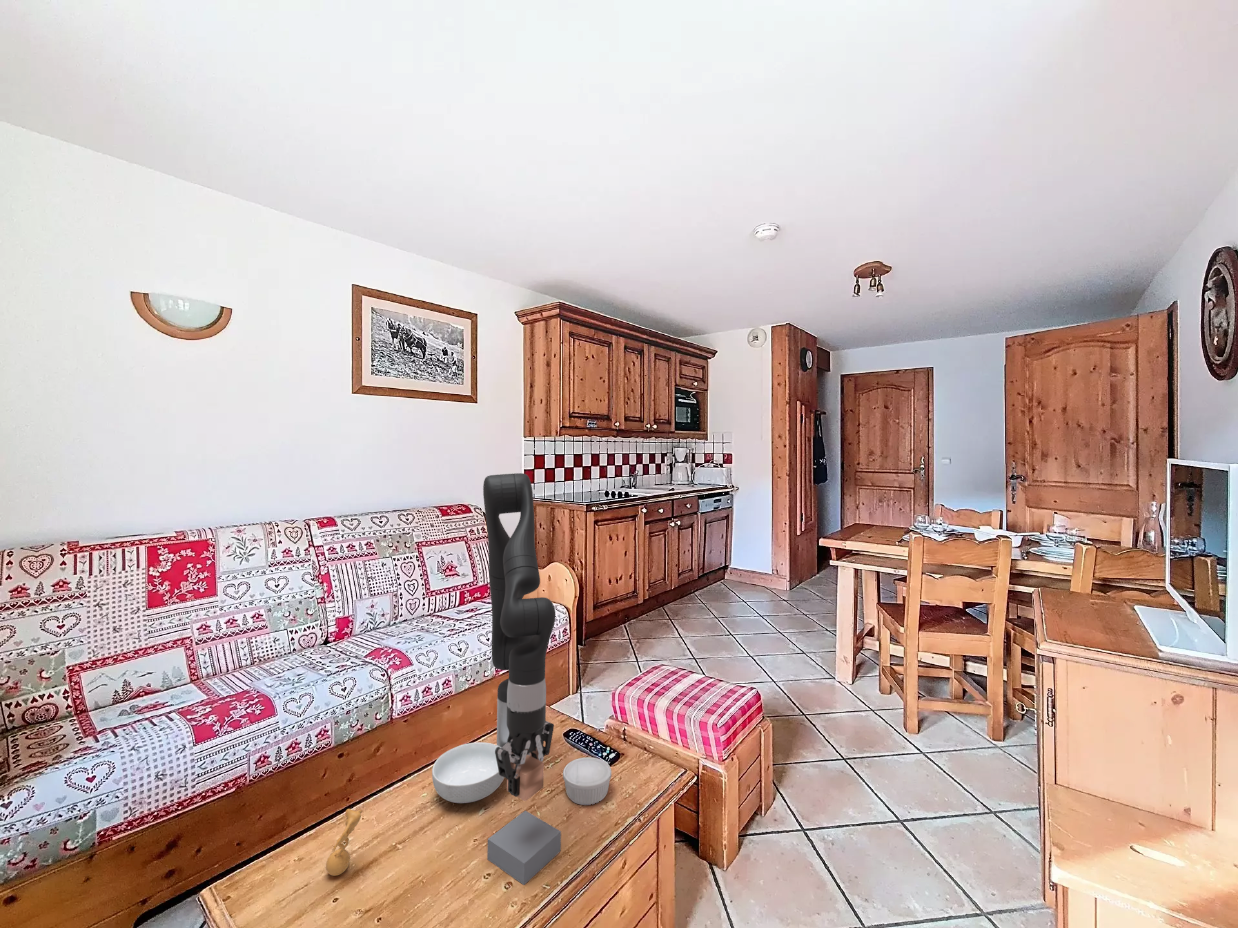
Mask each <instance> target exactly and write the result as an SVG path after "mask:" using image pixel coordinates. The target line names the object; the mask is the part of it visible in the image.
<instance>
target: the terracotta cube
mask: <svg viewBox="0 0 1238 928" xmlns="http://www.w3.org/2000/svg"><path fill="white" fill-rule="evenodd" d="M515 767H516V764H515V763H514V767H513V769H515ZM544 769H545V762H543V761H540V760H538V759H536V758H534V757H532V756H530V755H527V756H526V759H525V763H524V765H522V767H521V771H520V775H519V777H520V794H519V795H518V796H517V797H516V798H518V799H520V800H521V801H524V802H526V801H528V800H529V799H530V798H532V797H533V796H534V795H536V794H537V793H538V792H540V791H541V790H543V789H544V784H545V783H544V778H545V777H544V775H545V771H544ZM506 792H508V779H506Z"/></svg>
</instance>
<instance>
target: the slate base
mask: <svg viewBox="0 0 1238 928" xmlns="http://www.w3.org/2000/svg"><path fill="white" fill-rule="evenodd" d="M561 845H562V831H561V830H559V829H558V828H556V827H554V826H553V825H551V824H549V823H548V822H546V821H544V820H543V819H540V818H539V817H537V816H536V815H534V814H532V813H531V812H529V811H527V810H524V811H522V812H521V813H520V814H518V815H517V816H516V817H515V818H514V819H512V820H511V821H510V822H508V823H506V824H505V825H504V826H503V827H501V828H500V829H499V830H498V831H496V832H495V833H493V834H492V835H491V836H490V837H488V838H487V854H486V855H487V858H486V859H487V861H489V862H490V863H492V864H493V865H495V866H496V867H497V868H499V869H500V870H502V871H503V872H504V873H506V874H507V875H509V876H510V877H512V878H513V879H515V881H518V882H519V883H520V884H522V885H523V886H525V885H526V884H527V883H528V882H529V881H530V880H531V879H533V877H534V876H536V874H538V873H539V872H540V871H541V870H542V869H544V867H545V866H546V865H547V864H549V863H550V862H551V861H552V860H553V859H554V858H555V857H556V856H557V855H558V854H559V853H560V852H561V851H562V850H561V849H562V848H561Z"/></svg>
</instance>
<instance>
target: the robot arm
mask: <svg viewBox="0 0 1238 928" xmlns="http://www.w3.org/2000/svg"><path fill="white" fill-rule="evenodd" d="M482 487H483V488H482V490H483V491H482V493H483V494H482V495H483V503H484V504H483V505H484V512H485V513H484V515H485V521H486V522H485V523H486V530H487V531H486V532H487V541H488V578H489V589H490V599H491V600H490V602H491V661H492V664H493V666H494V669H496V670H499V671H500V670H501V671H508V678H507V679H504V680H503V681H501V682H500V683H499V685H498V687H497V699H496V700H497V703H496V710H497V712H496V745H497V746H499V747H497V748H496V750H495V755H496V760H497V765H498V770H499V775H500V776H503V777H504V779H506V780H507V779H508V791H507V792H508V793H509V794H510V795H511V796H513V797H515V798H518V797H517V796H518V795H519V794H520V777H519V775H520V771H521V767H522V765H524V763H525V759H526V756H527V755H530V756H532V757H534V758H536V759H538V760H540V761H542V762H543V761H544V757H545V756H548V755H549V754H550V751H551V747H552V746H551V745H552V741H553V734H554V727H555V724H554V723H552V722H550V721H548V720H546V717H547V716H546V712H547V710H546V709H547V708H546V707H547V684H546V683H547V682H546V657H547V651H548V646H549V643H550V639H551V636H552V632H553V630H554V626H555V621H556V608H555V606H554V604H553V602H552V601H551V599H550V598H548V597H532V598H529V597H528V598H524V597H525V596H526V595H529V594H532V593H533V592H535V591H536V590H538V588H539V587H540V583H541V576H540V571H539V570H540V569H539V566H538V565H539V564H538V558H537V553H536V540H535V539H536V538H535V537H536V536H535V510H534V509H535V507H534V494H533V488H532V481H531V478H530V477H529V475H528V474H526V473H519V472H518V473H517V472H516V473H503V474H492V475H487V476H486V477H485V478H484V480H483V486H482ZM513 513H514V514H515V513H520V514H519V515H520V516H519V521H518V523H517V525H516V528H515V529H514V530H513V532H512V534H511V536H510V535H509V534H508V532H507V531H506V530H505V527H504V526H503V523H502V522H501V518H500V515H502V514H503V515H504V514H513ZM544 743H545V744H544ZM544 745H545V746H544ZM500 747H501V748H500ZM514 763H515V764H516V767H515V769H513V767H514Z"/></svg>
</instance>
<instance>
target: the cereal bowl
mask: <svg viewBox="0 0 1238 928" xmlns="http://www.w3.org/2000/svg"><path fill="white" fill-rule="evenodd" d="M497 747H499V746H497V744H495V743H490V742H484V741H483V742H481V741H480V742H479V741H478V742H477V741H476V742H469V743H465V744H461V745H458V746H455V747H453V748H450V749H448V750H447V751H445V752H444V753H442V754H441V755H440V756H439V757H438V758H437V759H436V761H435V762H434V764H433V766H432V769H431V778H432V779H431V780H432V783H433V786H434V789H435V792H436V794H438V796H439V797H440V798H442V799H444V800H445V801H448V802H451V803H456V804H469V803H473V802H478V801H480V800H482V799H484V798H486V797H488V796H490V795H491V794H493V793H494V792H495V791H496V790H497V789H498V788H500V786H501V784H502V783H503V781H504V779H505V778H504V777H503V776H500V775H499V770H498V765H497V760H496V755H495V750H496V748H497ZM500 748H501V747H500Z"/></svg>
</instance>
